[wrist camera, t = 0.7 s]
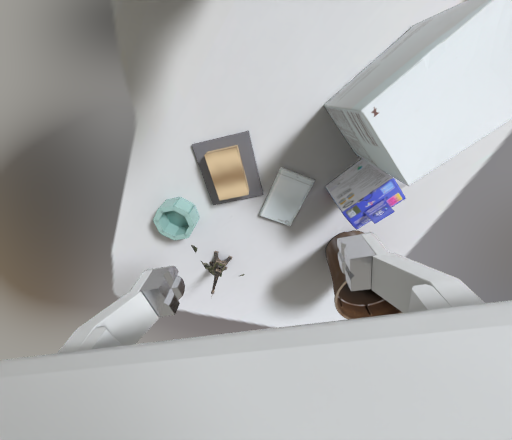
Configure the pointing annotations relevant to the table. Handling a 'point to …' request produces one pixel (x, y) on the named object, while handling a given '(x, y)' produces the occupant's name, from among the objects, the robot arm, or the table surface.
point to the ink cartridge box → (365, 193)
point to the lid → (227, 172)
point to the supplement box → (431, 91)
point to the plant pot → (354, 301)
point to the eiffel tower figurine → (215, 267)
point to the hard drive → (286, 196)
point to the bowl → (176, 218)
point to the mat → (246, 157)
